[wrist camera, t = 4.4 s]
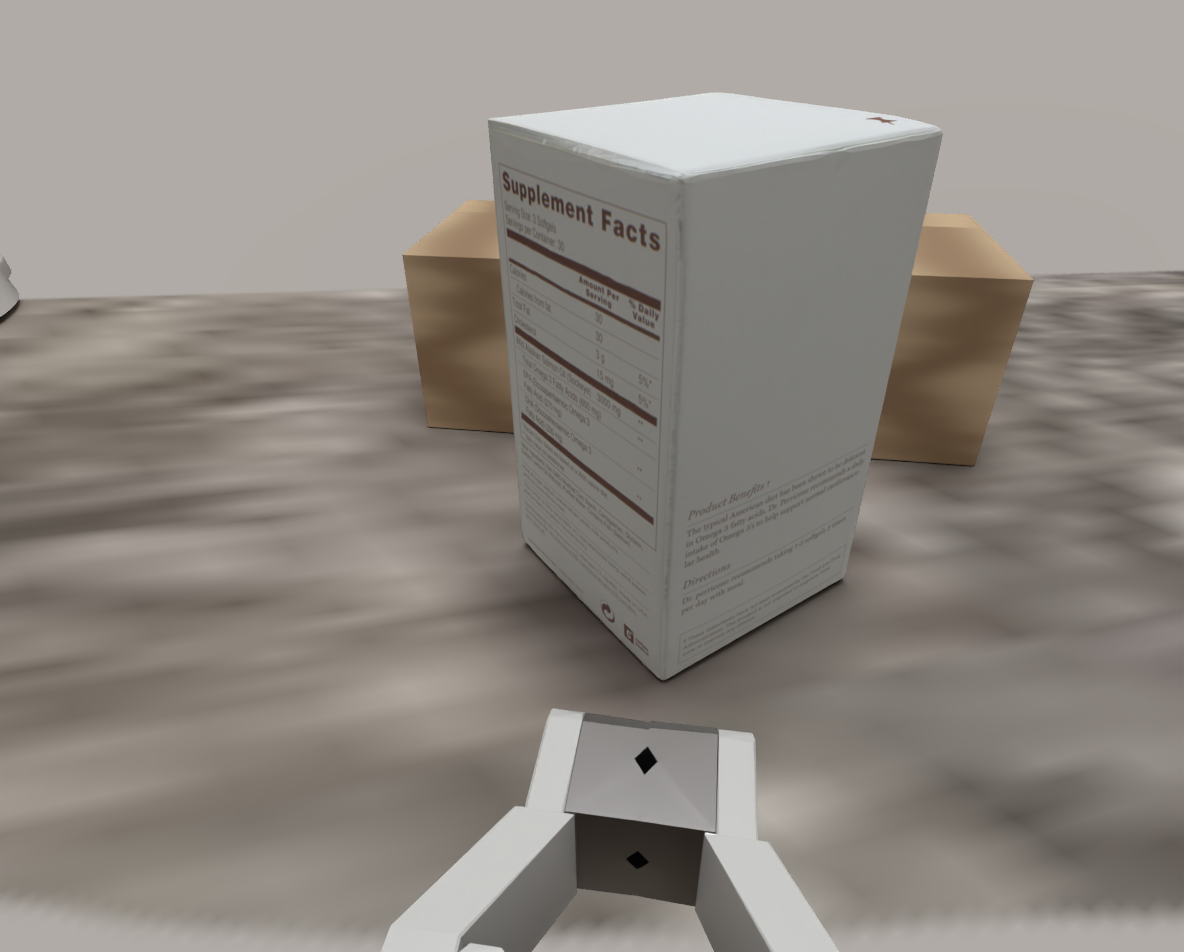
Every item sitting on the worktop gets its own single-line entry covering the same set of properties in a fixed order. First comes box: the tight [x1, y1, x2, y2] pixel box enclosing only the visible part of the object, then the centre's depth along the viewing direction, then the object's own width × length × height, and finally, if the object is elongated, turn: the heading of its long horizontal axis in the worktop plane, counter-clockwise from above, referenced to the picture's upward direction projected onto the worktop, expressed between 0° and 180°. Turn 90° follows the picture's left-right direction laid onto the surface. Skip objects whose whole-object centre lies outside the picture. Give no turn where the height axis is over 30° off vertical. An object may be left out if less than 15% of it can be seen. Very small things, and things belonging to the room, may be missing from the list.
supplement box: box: [488, 93, 943, 680], centre depth 20 cm, size 7×7×13 cm
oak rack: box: [403, 200, 1034, 466], centre depth 30 cm, size 21×8×7 cm, turn 81°
